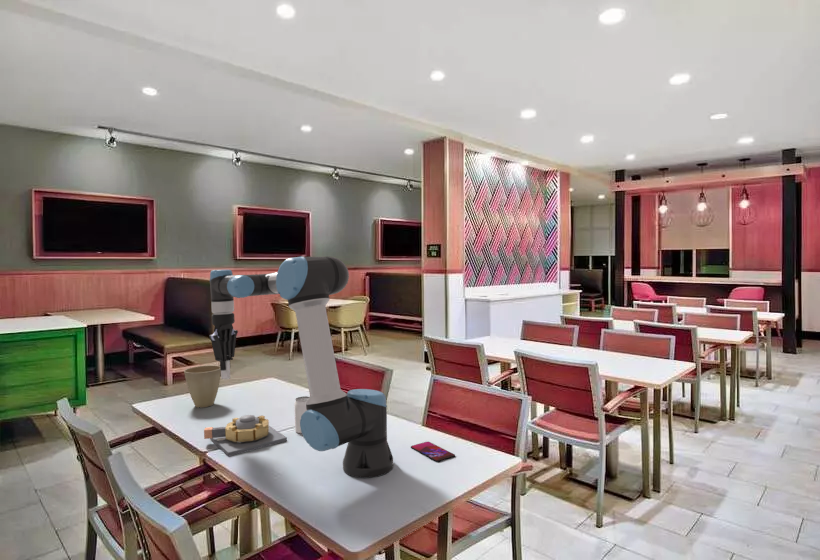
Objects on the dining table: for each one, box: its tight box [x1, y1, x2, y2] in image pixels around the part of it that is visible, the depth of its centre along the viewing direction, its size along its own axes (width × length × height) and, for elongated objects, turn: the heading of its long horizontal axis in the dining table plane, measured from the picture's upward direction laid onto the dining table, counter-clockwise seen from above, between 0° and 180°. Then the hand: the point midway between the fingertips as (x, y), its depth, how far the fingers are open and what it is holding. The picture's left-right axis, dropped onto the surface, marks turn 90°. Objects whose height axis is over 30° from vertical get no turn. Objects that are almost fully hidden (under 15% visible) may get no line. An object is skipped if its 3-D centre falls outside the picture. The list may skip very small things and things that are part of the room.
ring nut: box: [203, 415, 270, 442], centre depth 171 cm, size 21×14×4 cm, turn 103°
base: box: [209, 414, 288, 457], centre depth 171 cm, size 20×20×8 cm
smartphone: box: [410, 441, 456, 463], centre depth 158 cm, size 8×1×15 cm
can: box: [293, 395, 310, 435], centre depth 179 cm, size 6×6×12 cm
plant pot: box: [183, 364, 221, 408], centre depth 213 cm, size 15×15×16 cm
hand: (225, 378), depth 175 cm, fingers closed
